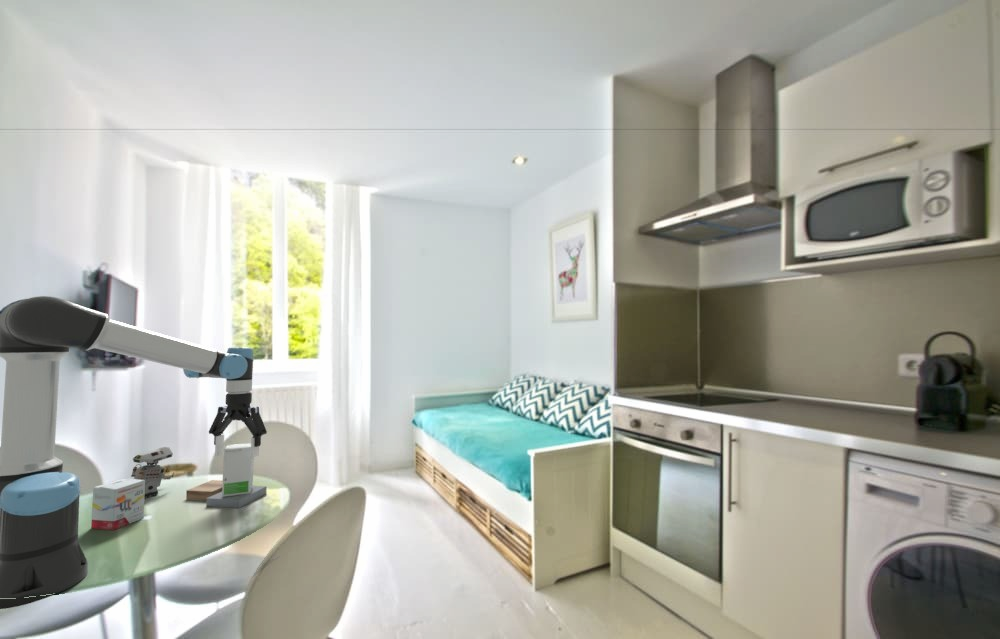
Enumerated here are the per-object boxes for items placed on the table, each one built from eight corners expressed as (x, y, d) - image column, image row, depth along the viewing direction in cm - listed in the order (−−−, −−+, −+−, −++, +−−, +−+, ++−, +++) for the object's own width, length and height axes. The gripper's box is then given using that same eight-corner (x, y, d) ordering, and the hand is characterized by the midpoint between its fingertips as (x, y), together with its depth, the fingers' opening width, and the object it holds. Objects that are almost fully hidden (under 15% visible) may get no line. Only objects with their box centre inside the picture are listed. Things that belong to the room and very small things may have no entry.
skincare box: (221, 497, 131) (222, 449, 132) (225, 491, 137) (226, 444, 138) (251, 493, 135) (251, 446, 136) (254, 486, 141) (254, 441, 142)
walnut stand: (211, 500, 135) (212, 491, 136) (186, 499, 137) (186, 490, 137) (235, 489, 145) (236, 481, 145) (211, 488, 147) (211, 480, 147)
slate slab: (239, 508, 129) (239, 500, 129) (206, 506, 131) (206, 498, 131) (266, 493, 141) (266, 486, 141) (236, 492, 143) (236, 484, 143)
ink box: (113, 530, 115) (114, 488, 115) (90, 528, 117) (91, 487, 117) (145, 517, 123) (146, 478, 124) (123, 515, 125) (124, 476, 126)
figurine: (177, 489, 146) (178, 448, 147) (136, 500, 137) (137, 456, 137) (168, 485, 151) (169, 444, 152) (128, 495, 142) (129, 452, 142)
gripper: (279, 391, 140) (277, 454, 138) (216, 390, 144) (214, 451, 142) (263, 394, 132) (261, 460, 131) (197, 393, 136) (194, 457, 135)
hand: (236, 455), depth 136 cm, fingers open, 13 cm apart
